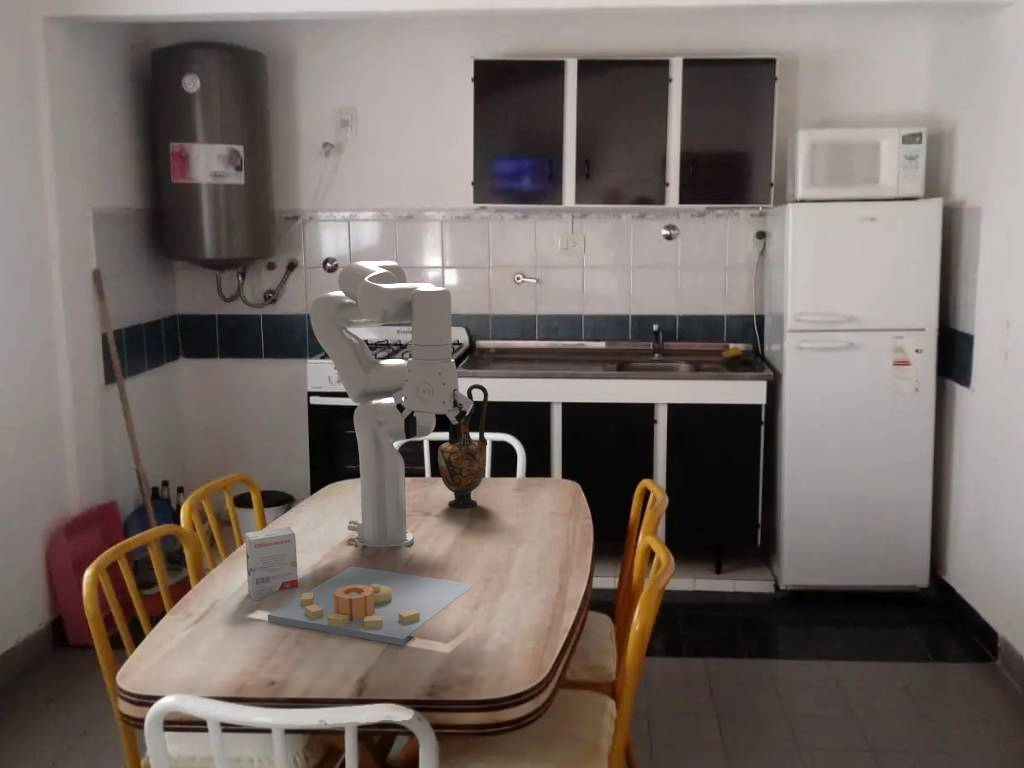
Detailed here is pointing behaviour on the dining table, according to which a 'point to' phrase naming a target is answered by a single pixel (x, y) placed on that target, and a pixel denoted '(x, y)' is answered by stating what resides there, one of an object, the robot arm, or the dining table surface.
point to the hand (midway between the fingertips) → (432, 440)
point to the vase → (464, 458)
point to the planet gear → (354, 601)
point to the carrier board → (395, 605)
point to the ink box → (271, 561)
